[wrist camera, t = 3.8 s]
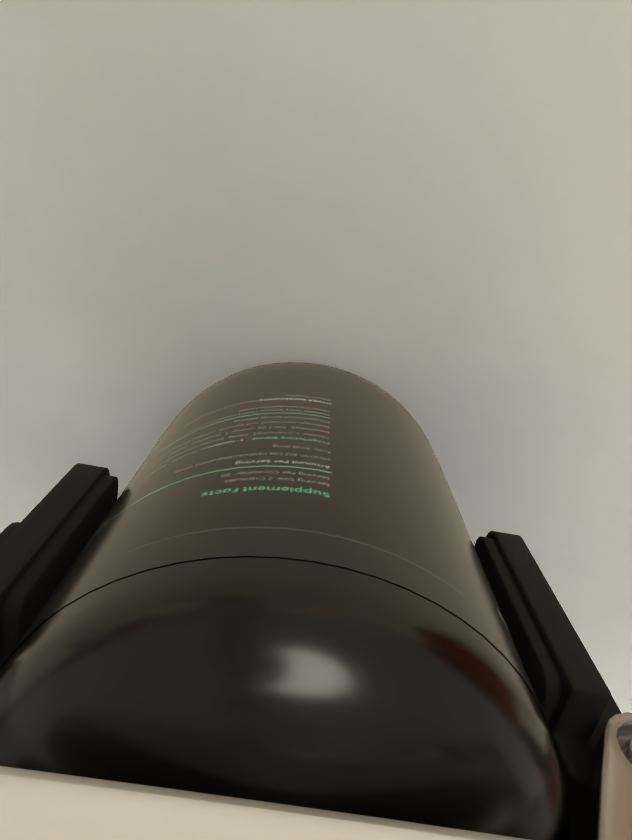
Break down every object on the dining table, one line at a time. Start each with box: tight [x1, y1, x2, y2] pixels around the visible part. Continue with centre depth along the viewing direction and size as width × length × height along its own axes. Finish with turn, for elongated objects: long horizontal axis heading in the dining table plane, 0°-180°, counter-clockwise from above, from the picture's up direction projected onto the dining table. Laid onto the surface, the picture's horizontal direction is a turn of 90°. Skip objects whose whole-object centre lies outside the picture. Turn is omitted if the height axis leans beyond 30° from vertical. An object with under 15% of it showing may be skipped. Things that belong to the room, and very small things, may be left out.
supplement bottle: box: [0, 362, 570, 840], centre depth 9 cm, size 7×7×12 cm
